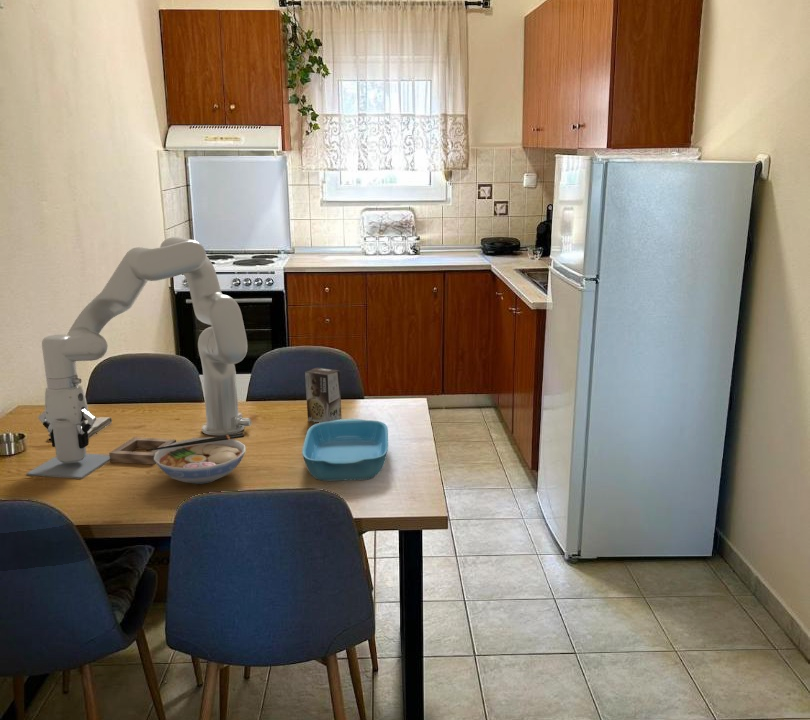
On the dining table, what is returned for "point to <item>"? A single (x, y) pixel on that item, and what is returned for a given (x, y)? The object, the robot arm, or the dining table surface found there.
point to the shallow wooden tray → (128, 456)
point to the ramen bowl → (200, 458)
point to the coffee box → (323, 395)
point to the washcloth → (97, 425)
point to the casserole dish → (346, 449)
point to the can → (67, 442)
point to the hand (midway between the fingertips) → (70, 445)
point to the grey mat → (70, 467)
